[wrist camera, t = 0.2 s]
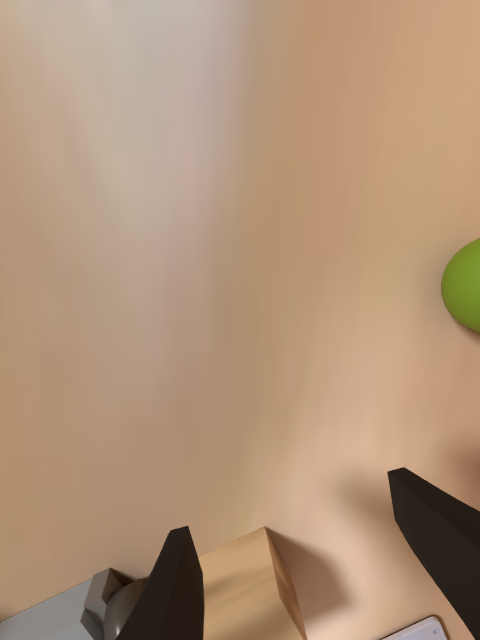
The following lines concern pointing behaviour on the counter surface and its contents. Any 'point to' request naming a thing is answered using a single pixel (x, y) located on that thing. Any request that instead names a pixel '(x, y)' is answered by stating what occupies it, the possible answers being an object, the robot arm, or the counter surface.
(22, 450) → the counter surface
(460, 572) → the robot arm
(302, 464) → the counter surface
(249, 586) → the engine block
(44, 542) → the counter surface
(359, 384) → the counter surface
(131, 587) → the car chassis
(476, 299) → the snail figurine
